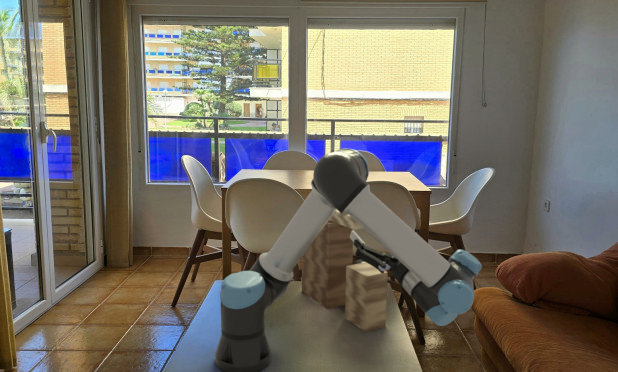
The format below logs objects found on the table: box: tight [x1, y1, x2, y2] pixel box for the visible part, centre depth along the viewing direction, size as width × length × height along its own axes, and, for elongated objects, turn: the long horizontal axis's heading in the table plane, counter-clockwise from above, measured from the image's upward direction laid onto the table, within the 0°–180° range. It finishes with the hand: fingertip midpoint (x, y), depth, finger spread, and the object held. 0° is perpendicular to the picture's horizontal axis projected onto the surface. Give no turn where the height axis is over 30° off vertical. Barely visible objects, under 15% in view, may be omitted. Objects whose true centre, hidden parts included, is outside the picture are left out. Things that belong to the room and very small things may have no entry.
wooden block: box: [329, 210, 364, 231], centre depth 163 cm, size 26×4×4 cm, turn 31°
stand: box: [301, 220, 354, 310], centre depth 171 cm, size 18×10×30 cm, turn 31°
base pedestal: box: [344, 262, 388, 333], centre depth 152 cm, size 11×8×18 cm
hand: (369, 230), depth 146 cm, fingers open, 13 cm apart
